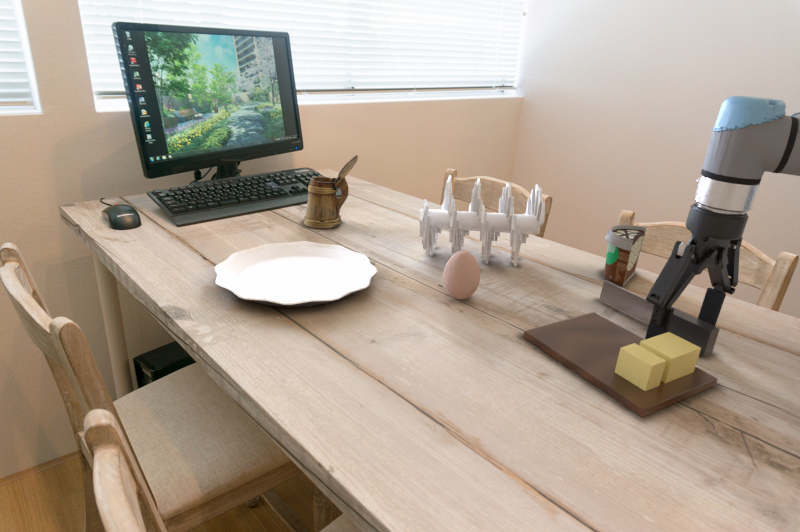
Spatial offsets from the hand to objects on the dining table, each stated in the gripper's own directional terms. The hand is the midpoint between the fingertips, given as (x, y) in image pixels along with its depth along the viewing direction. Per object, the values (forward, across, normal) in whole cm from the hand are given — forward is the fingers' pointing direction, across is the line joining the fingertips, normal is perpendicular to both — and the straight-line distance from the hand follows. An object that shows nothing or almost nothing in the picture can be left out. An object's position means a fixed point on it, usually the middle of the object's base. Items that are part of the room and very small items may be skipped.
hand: (680, 334), depth 85 cm
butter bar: (0, +12, +5) cm, 13 cm away
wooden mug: (+3, +28, -76) cm, 81 cm away
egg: (+2, +24, -28) cm, 37 cm away
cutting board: (+1, +15, -1) cm, 15 cm away
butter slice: (0, +18, +5) cm, 18 cm away
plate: (+3, +48, -47) cm, 67 cm away
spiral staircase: (+2, +8, -43) cm, 44 cm away
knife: (+1, 0, -6) cm, 6 cm away
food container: (+2, -13, -24) cm, 27 cm away
